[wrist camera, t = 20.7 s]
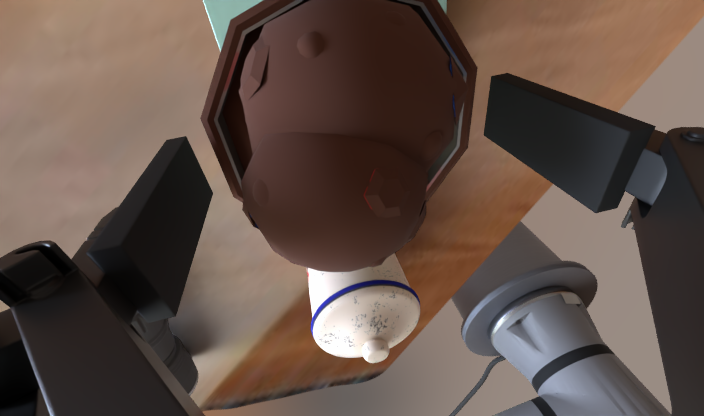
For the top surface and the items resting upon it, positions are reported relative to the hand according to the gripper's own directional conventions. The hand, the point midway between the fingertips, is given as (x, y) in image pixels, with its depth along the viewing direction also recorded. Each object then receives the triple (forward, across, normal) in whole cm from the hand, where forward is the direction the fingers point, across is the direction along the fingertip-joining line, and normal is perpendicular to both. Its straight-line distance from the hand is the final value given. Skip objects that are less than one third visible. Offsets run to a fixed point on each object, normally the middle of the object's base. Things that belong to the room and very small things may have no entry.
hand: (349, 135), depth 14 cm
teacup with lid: (+11, 0, -18) cm, 21 cm away
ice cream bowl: (+9, 0, 0) cm, 9 cm away
